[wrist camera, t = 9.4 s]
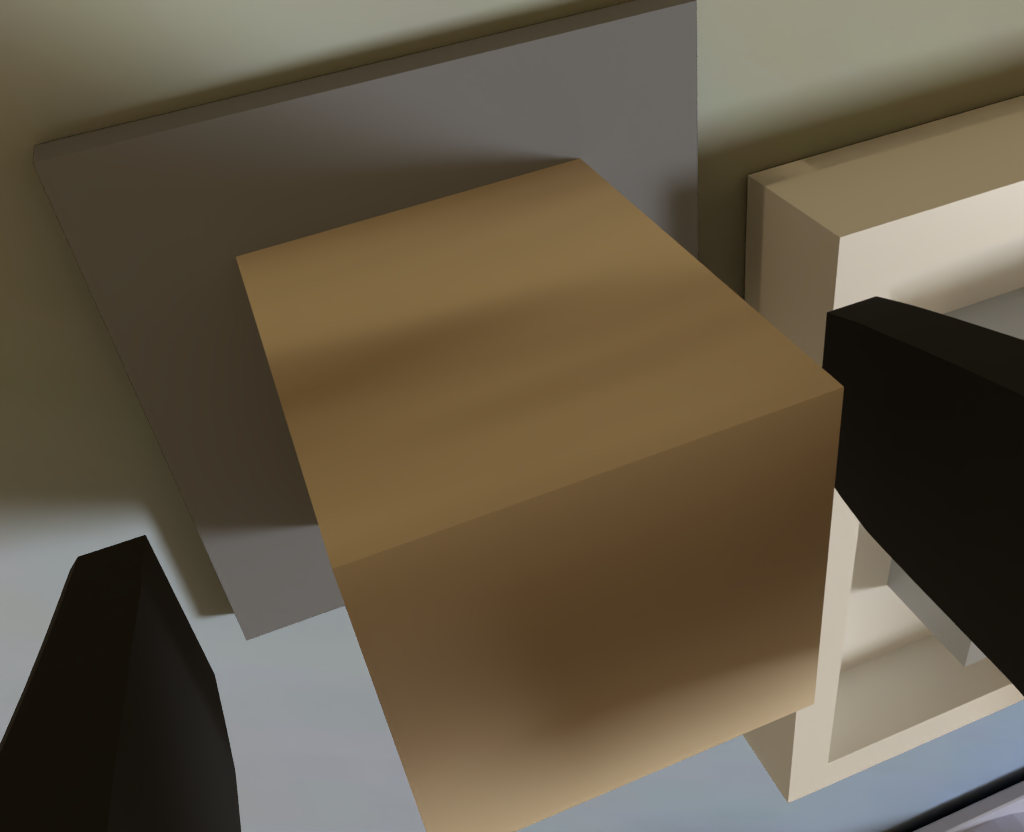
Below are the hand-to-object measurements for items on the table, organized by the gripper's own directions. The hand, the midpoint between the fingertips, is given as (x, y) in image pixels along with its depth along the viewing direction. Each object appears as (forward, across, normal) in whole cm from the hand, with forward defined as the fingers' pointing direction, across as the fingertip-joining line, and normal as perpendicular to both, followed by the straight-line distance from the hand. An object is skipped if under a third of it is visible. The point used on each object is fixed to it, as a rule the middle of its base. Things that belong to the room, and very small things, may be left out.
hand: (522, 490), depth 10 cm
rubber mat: (+3, 0, 0) cm, 3 cm away
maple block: (+3, 0, 0) cm, 3 cm away
